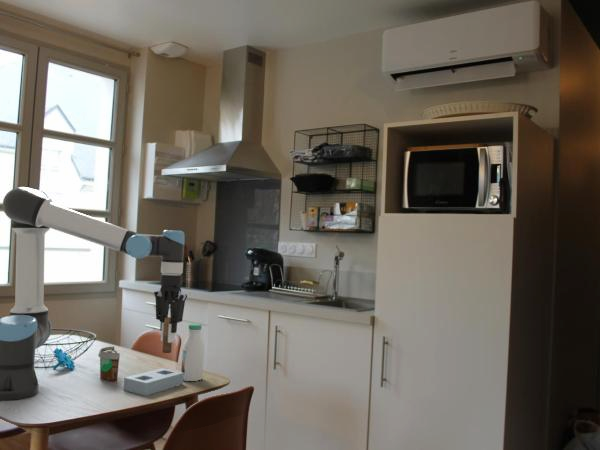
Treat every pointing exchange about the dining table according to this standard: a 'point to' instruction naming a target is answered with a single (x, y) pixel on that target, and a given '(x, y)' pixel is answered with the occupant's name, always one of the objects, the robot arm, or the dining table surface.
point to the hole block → (153, 381)
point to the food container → (109, 364)
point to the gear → (63, 359)
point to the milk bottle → (193, 354)
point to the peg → (166, 336)
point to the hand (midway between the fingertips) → (167, 341)
